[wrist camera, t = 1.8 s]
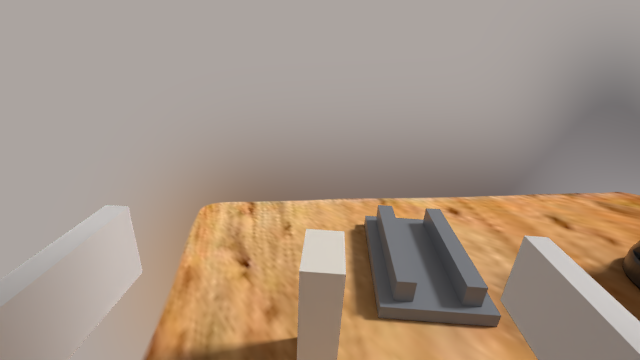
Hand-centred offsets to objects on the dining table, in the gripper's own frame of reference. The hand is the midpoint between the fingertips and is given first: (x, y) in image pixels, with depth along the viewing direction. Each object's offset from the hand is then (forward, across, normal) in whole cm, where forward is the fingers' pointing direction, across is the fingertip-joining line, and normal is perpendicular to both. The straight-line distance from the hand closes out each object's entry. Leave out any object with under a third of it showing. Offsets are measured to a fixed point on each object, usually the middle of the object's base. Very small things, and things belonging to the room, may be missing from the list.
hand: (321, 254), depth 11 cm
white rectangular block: (+10, 0, -19) cm, 21 cm away
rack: (+24, +12, -19) cm, 33 cm away
